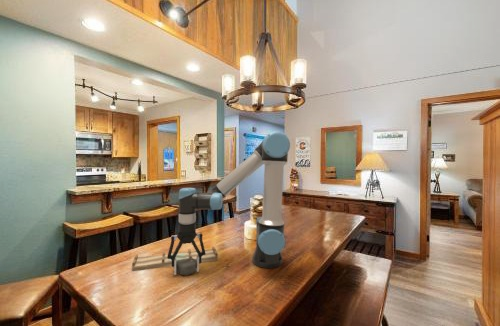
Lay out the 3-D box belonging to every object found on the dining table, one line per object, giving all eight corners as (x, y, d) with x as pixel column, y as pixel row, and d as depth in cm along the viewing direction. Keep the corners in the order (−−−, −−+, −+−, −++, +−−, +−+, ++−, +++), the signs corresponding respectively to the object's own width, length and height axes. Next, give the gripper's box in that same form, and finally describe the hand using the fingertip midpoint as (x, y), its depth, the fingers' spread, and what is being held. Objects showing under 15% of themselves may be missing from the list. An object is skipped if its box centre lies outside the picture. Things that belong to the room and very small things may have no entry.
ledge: (217, 260, 122) (217, 253, 122) (132, 271, 109) (132, 263, 109) (214, 252, 132) (214, 246, 132) (135, 261, 120) (135, 254, 120)
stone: (189, 264, 116) (193, 249, 112) (196, 279, 110) (200, 264, 106) (171, 269, 111) (174, 253, 107) (176, 285, 105) (180, 269, 101)
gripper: (210, 218, 113) (209, 265, 113) (161, 222, 106) (161, 271, 106) (212, 222, 106) (212, 272, 106) (160, 226, 99) (160, 279, 99)
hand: (186, 272), depth 106 cm, fingers closed on stone, 9 cm apart
